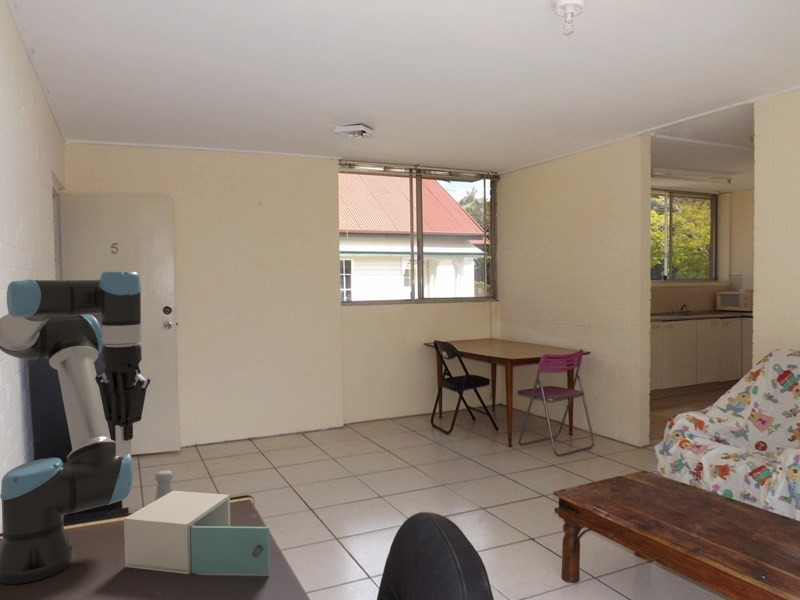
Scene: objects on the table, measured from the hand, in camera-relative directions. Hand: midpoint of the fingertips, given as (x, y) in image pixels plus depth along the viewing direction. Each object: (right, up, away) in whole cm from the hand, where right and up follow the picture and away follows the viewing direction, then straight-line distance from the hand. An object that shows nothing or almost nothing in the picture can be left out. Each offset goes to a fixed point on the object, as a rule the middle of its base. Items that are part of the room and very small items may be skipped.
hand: (123, 454), depth 123 cm
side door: (+22, -26, +2) cm, 34 cm away
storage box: (+7, -27, +14) cm, 31 cm away
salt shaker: (-5, -27, +34) cm, 43 cm away
